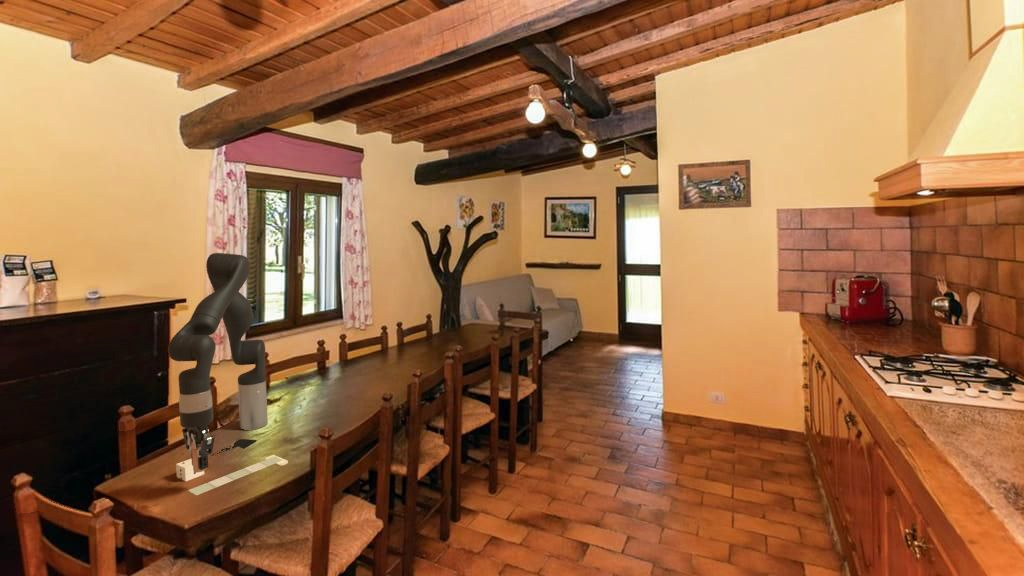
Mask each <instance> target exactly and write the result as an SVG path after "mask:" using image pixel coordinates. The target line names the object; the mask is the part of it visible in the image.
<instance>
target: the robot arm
mask: <svg viewBox="0 0 1024 576" xmlns="http://www.w3.org/2000/svg"><path fill="white" fill-rule="evenodd" d="M250 268H251V265H250V260H249V258H248V257H247V256H245V255H241V254H238V253H237V254H234V253H224V252H212V253H211V254H209V256H208V257H207V260H206V273H207V277H208V279H209V281H210V284H211V287H212V289H213V292H212V293H210V294H209V295H207V296H205V297H204V298H203V299H202V300H201V301H200V302H198V304H197V305H196V307H195V310H194V311H193V313H192V315H191V317H190V319H189V321H188V322H186V323H185V324H184V325H183V327H182V328H180V330H178V331H177V332H176V333H175V334H174V336H172V338H171V340H170V341H169V343H168V347H167V352H168V356H169V358H170V359H171V360H173V361H175V362H196V363H195V367H191V368H188V369H187V368H186V369H185V370H182V371H180V372H179V374H178V391H179V392H178V393H179V397H178V398H179V399H178V407H179V424H180V427H182V429H181V432H182V435H183V439H184V444H185V447H186V448H185V449H186V450H187V451H189V452H188V453H190V454H191V455H190V457H191V458H192V466H193V457H192V447H191V444H192V442H193V444H194V449H196V450H197V456H198V469H200V470H203V469H205V468H207V469H208V467H209V457H208V456H210V455H213V449H214V444H215V436H214V435H210V431H209V427H208V425H209V424H211V423H212V422H213V421H214V409H213V408H214V407H213V395H212V390H211V377H210V376H211V375H210V374H211V370H212V364H213V360H214V357H215V353H216V350H217V349H216V345H217V344H216V342H215V340H214V338H213V337H212V335H214V334H215V333H216V331H217V330H218V328H219V325H220V324H221V321H223V323H224V327H225V330H226V333H227V337H228V342H229V349H230V356H231V358H232V361H233V363H234V364H235V366H236V365H237V366H249V365H250V366H251V365H255V366H254V368H252V369H250V370H248V371H246V372H244V373H241V374H240V375H238V377H237V387H238V388H237V389H238V414H239V415H238V416H239V418H238V419H239V428H240V429H241V430H242V429H244V430H243V431H253V430H258V429H261V428H263V427H266V426H267V425H268V424H269V421H268V401H267V399H268V398H267V377H266V344H265V342H264V340H262V339H248V340H247V339H246V340H243V339H242V338H243V337H244V335H245V334H246V333H247V331H249V329H250V328H251V327H252V324H254V312H253V308H252V305H251V302H250V301H249V300H248V299H247V298H246V297H245V296H244V295H243V294H242V293H241V292H240V290H241V288H243V286H244V284H246V281H247V280H248V278H249V275H250V272H251V271H250V270H251V269H250ZM201 443H202V445H199V446H198V444H201ZM200 449H201V450H200ZM191 458H190V459H191Z"/></svg>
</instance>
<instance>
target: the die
mask: <svg viewBox="0 0 1024 576" xmlns="http://www.w3.org/2000/svg"><path fill="white" fill-rule="evenodd" d="M175 466H176V467H175V469H176V478H177V479H180V480H181V481H184V482H188V481H191V480H194V479H195V478H198V477H200V476H204V475H205V471H202V472H194V471H193V466H192V458H189V459H185V460H184V461H181V462H178V463H175Z"/></svg>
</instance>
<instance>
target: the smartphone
mask: <svg viewBox="0 0 1024 576" xmlns="http://www.w3.org/2000/svg"><path fill="white" fill-rule="evenodd" d="M234 442H235V443H234ZM234 442H233V443H234V446H233V447H232V449H235V448H241V449H242V450H246V449H247V447H248V448H250V447H251V446H253V445H254V443H255V444H256V443H258V440H257V439H248V438H247V439H246V438H240V439H238V440H236V441H234ZM252 444H253V445H252ZM250 445H251V446H250ZM249 446H250V447H249ZM230 447H231V446H230ZM224 448H225V447H224ZM245 448H246V449H245ZM225 449H226V450H225ZM225 449H223V448H221V449H220V450H221V451H223V450H225V451H223V452H219V454H221V453H224V452H226V451H230V450H232V449H230V448H225ZM214 454H215V453H212V454H210V455H208V456H209V457H213V456H215V455H214ZM216 455H218V453H217V454H216ZM209 457H208V458H209Z"/></svg>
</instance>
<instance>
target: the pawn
mask: <svg viewBox="0 0 1024 576" xmlns="http://www.w3.org/2000/svg"><path fill="white" fill-rule="evenodd" d="M199 445H202V443H201V444H198V446H199ZM191 447H192V453H191V454H192V457H193V471H194V472H202V471H204V472H205V471H206V470H207V469H208V467H207V468H205V469H203V470H200V469H198V456H197V450H196V449H194V444H193V442H192V444H191ZM200 450H201V449H200Z"/></svg>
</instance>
